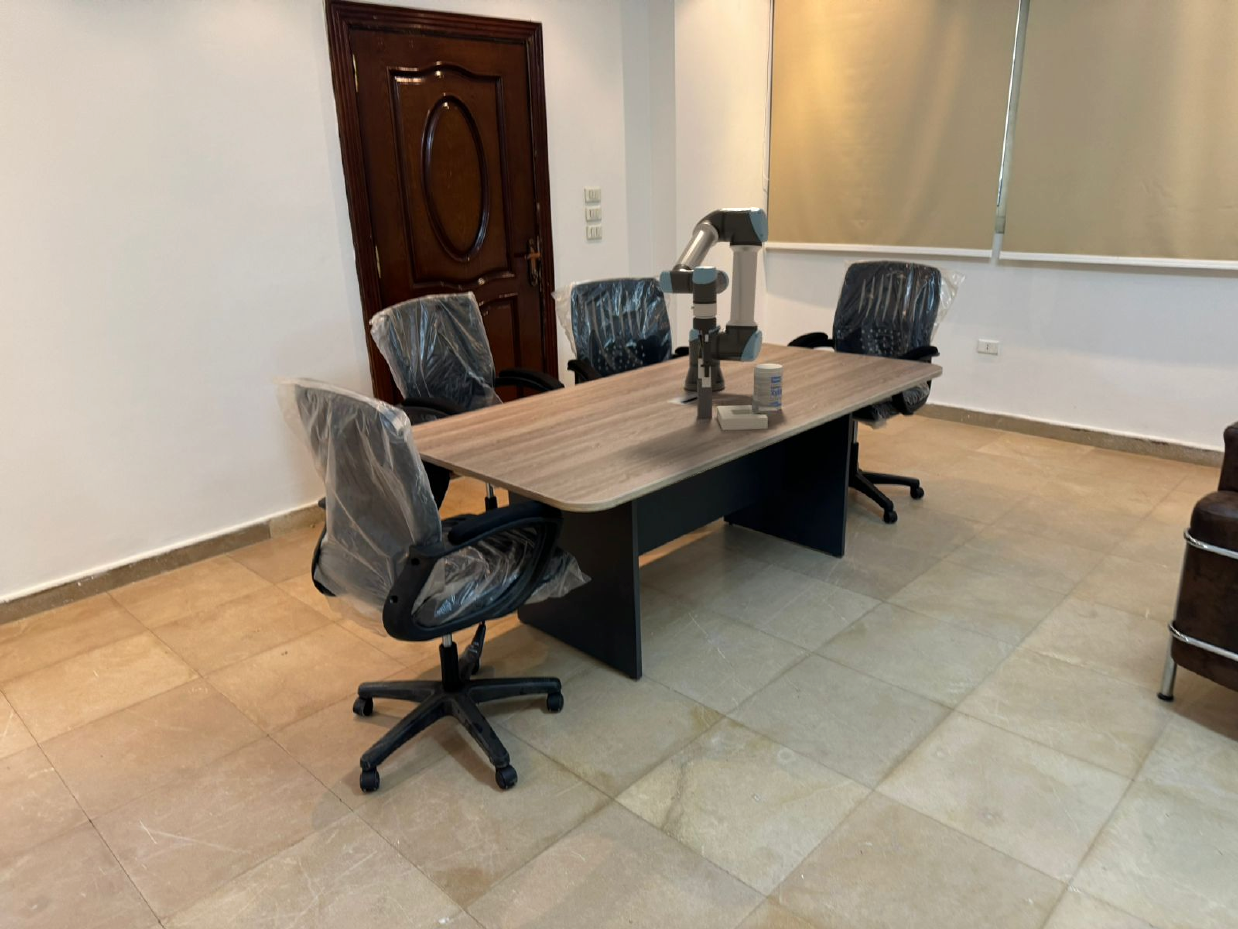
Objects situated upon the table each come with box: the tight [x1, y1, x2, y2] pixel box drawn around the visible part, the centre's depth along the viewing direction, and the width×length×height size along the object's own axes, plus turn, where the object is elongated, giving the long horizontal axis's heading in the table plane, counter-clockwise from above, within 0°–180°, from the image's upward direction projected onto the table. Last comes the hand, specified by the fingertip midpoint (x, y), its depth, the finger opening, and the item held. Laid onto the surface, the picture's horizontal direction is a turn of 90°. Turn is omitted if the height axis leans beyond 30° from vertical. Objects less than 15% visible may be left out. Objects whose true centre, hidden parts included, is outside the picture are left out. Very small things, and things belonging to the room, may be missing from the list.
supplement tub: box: [752, 363, 784, 411], centre depth 273 cm, size 10×10×15 cm
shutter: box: [751, 396, 778, 414], centre depth 259 cm, size 7×7×4 cm
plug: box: [696, 380, 713, 420], centre depth 266 cm, size 4×4×12 cm
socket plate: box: [716, 404, 769, 431], centre depth 260 cm, size 16×14×4 cm
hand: (704, 382), depth 264 cm, fingers open, 13 cm apart
